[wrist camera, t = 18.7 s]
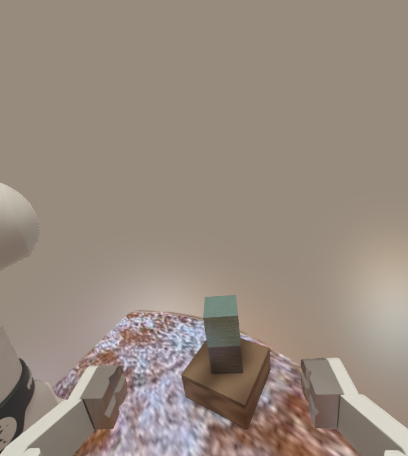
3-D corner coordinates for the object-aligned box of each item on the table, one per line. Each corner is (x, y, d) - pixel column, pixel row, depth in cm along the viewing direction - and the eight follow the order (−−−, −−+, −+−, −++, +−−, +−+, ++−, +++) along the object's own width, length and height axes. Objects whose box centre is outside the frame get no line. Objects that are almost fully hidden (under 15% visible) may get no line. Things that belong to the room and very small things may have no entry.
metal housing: (211, 374, 39) (203, 317, 35) (212, 349, 44) (205, 297, 40) (243, 373, 39) (238, 315, 35) (240, 347, 43) (235, 295, 40)
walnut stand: (185, 396, 41) (181, 374, 40) (216, 349, 50) (214, 329, 48) (247, 429, 36) (244, 405, 34) (270, 369, 44) (269, 347, 43)
